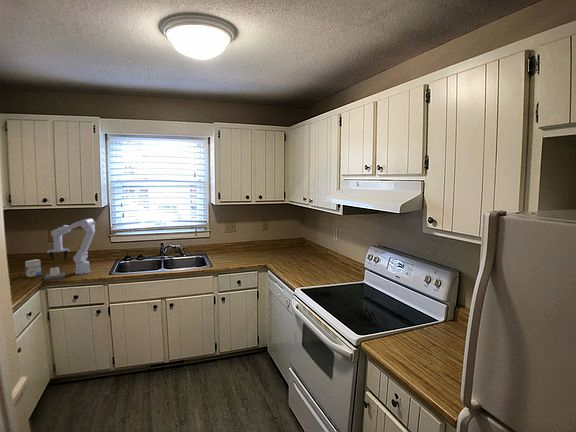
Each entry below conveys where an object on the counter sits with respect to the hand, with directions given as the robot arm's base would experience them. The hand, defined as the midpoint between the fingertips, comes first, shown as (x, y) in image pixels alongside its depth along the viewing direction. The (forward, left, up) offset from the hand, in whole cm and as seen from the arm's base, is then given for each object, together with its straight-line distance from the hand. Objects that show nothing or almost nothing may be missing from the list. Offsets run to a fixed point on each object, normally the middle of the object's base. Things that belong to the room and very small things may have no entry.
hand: (59, 260), depth 272 cm
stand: (+2, +15, -9) cm, 17 cm away
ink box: (+17, 0, -10) cm, 20 cm away
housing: (+2, +15, -7) cm, 16 cm away
